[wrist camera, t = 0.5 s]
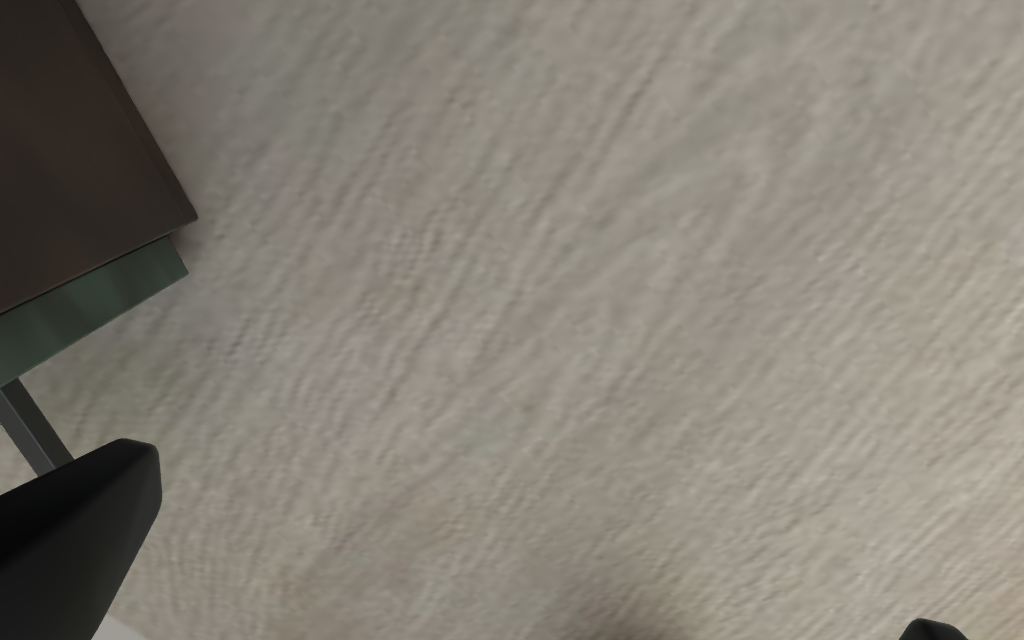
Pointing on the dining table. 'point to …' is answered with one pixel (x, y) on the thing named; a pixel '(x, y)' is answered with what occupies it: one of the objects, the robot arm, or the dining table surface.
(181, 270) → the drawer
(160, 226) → the cabinet
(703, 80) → the dining table surface
